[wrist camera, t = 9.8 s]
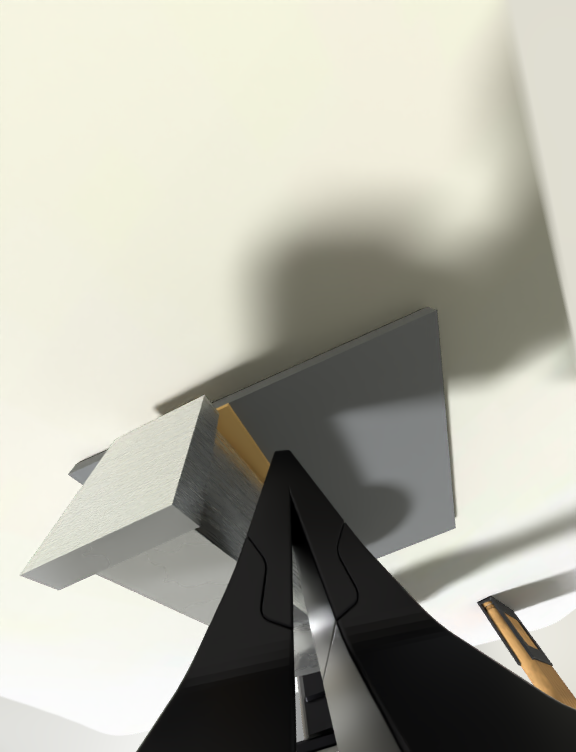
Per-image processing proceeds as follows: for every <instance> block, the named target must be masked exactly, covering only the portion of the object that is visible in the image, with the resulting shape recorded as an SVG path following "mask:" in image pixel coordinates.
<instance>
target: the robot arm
mask: <svg viewBox="0 0 576 752" xmlns="http://www.w3.org/2000/svg"><path fill="white" fill-rule="evenodd" d="M292 548H293V553H294V557H295V562H296V566H297V570H298V575H299V579H300V584H301V588H302V592H303V597H304V601H305V606H306V610H307V614H308V619H309V623H310V628H311V632H312V636H313V641H314V645H315V650H316V654H317V658H318V663H319V667H320V671H318V672H315V673H311V674H307V675H302V676H297V681H298V690H299V698H300V706H301V715H302V724H303V732H304V740H303V741H300V742H297V743H296V709H295V708H296V707H295V668H294V618H293V563H292ZM338 751H339V752H576V709H574V708H572V707H570V706H567V705H565V704H563V703H561V702H560V701H558V700H556V699H554V698H553V697H551V696H549V695H548V694H546V693H544V692H543V691H541V690H540V689H538V688H537V687H535V686H534V685H532V684H530V683H529V682H527V681H526V680H524V679H523V678H521V677H520V676H518V675H516V674H515V673H513V672H512V671H510V670H509V669H507V668H506V667H504V666H503V665H501V664H500V663H498V662H496V661H495V660H493V659H492V658H490V657H489V656H487V655H485V654H484V653H483V652H481V651H479V650H478V649H476V648H475V647H473V646H472V645H470V644H469V643H467V642H465V641H464V640H462V639H461V638H459V637H458V636H456V635H455V634H453V633H452V632H450V631H449V630H447V629H446V628H445V627H443V626H442V625H441V624H440V623H438V622H437V621H436V620H435V619H434V618H433V617H432V616H430V615H429V614H428V613H427V612H426V611H425V610H424V609H423V608H422V607H421V606H420V605H419V604H418V603H417V602H416V600H415V599H414V598H413V597H412V596H411V595H410V594H409V593H408V592H407V591H406V590H405V589H404V588H403V587H402V586H401V585H400V584H399V583H398V581H397V580H396V579H395V578H394V577H393V576H392V575H391V574H390V573H389V572H388V571H387V570H386V569H385V568H384V567H383V566H382V565H381V563H380V562H379V561H378V560H377V559H376V558H375V557H374V556H373V555H372V554H371V552H370V551H369V550H368V549H367V548H366V547H365V546H364V544H363V543H362V542H361V541H360V539H359V538H358V537H357V536H356V535H355V533H354V532H353V531H352V530H351V528H350V527H349V526H348V524H347V523H346V522H345V523H344V519H343V518H342V517H341V515H340V514H339V513H338V512H337V510H336V509H335V508H334V506H333V505H332V504H331V502H330V501H329V500H328V499H327V497H326V496H325V495H324V493H323V492H322V491H321V490H320V488H319V487H318V486H317V484H316V483H315V482H314V480H313V479H312V478H311V477H310V475H309V474H308V473H307V471H306V470H305V469H304V467H303V466H302V465H301V464H300V462H299V461H298V460H297V458H296V457H295V456H294V455H293V453H292V452H291V451H290V450H281V451H275V452H274V454H273V457H272V460H271V463H270V466H269V469H268V472H267V475H266V478H265V481H264V484H263V487H262V490H261V493H260V496H259V499H258V502H257V505H256V508H255V511H254V514H253V517H252V520H251V523H250V526H249V529H248V532H247V537H246V538H245V541H244V544H243V547H242V550H241V552H240V555H239V558H238V561H237V563H236V566H235V569H234V571H233V573H232V576H231V578H230V581H229V583H228V585H227V588H226V590H225V592H224V594H223V597H222V599H221V601H220V603H219V605H218V607H217V610H216V612H215V614H214V616H213V618H212V621H211V623H210V625H209V627H208V629H207V631H206V634H205V636H204V638H203V640H202V642H201V645H200V647H199V649H198V651H197V653H196V655H195V657H194V659H193V661H192V663H191V665H190V667H189V669H188V671H187V673H186V675H185V676H184V678H183V680H182V682H181V684H180V685H179V687H178V689H177V690H176V692H175V694H174V695H173V697H172V698H171V700H170V701H169V703H168V704H167V706H166V707H165V709H164V710H163V712H162V713H161V715H160V716H159V718H158V719H157V721H156V722H155V724H154V726H153V727H152V729H151V730H150V732H149V733H148V735H147V736H146V738H145V739H144V741H143V742H142V744H141V745H140V747H139V748H138V750H137V751H136V752H338Z"/></svg>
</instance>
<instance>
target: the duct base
mask: <svg viewBox="0 0 576 752" xmlns="http://www.w3.org/2000/svg"><path fill="white" fill-rule="evenodd" d="M212 405H213V406H214V407H215V408H216V410H217V411H218V412H219V419H218V425H217V429H218V431H219V432H220V433H221V434H222V435H223V436H224V438H225V439H226V440H227V441H228V442H229V444H230V445H231V446H232V447H233V448H234V449H235V451H236V452H237V453H238V454H239V455H240V457H241V458H242V459H243V460H244V461H245V462H246V464H247V465H248V466H249V467H250V468H251V469H252V471H253V472H254V473H255V474H256V475H257V477H258V478H259V479H260V480H261V481H262V482H263V484H264V481H265V478H266V475H267V472H268V469H269V466H270V463H271V460H272V457H273V454H274V452H275V451H281V450H290V451H291V452H292V453H293V455H294V456H295V457H296V458H297V460H298V461H299V462H300V464H301V465H302V466H303V467H304V469H305V470H306V471H307V473H308V474H309V475H310V477H311V478H312V479H313V480H314V482H315V483H316V484H317V486H318V487H319V488H320V490H321V491H322V492H323V493H324V495H325V496H326V497H327V499H328V500H329V501H330V502H331V504H332V505H333V506H334V508H335V509H336V510H337V512H338V513H339V514H340V515H341V517H342V518H343V519H344V523H345V522H346V523H347V524H348V526H349V527H350V528H351V530H352V531H353V532H354V533H355V535H356V536H357V537H358V538H359V539H360V541H361V542H362V543H363V544H364V546H365V547H366V548H367V549H368V550H369V551H370V552H371V554H372V555H373V556H374V557H375V558H376V559H377V558H380V557H382V556H385V555H387V554H390V553H393V552H395V551H398V550H400V549H403V548H405V547H408V546H411V545H413V544H416V543H418V542H421V541H423V540H426V539H429V538H431V537H434V536H436V535H439V534H442V533H444V532H447V531H449V530H452V529H454V528H456V527H455V515H454V504H453V492H452V480H451V468H450V456H449V445H448V433H447V421H446V409H445V397H444V386H443V374H442V362H441V350H440V338H439V327H438V315H437V310H435V309H432V308H429V307H426V308H423V309H421V310H419V311H417V312H415V313H412V314H410V315H408V316H406V317H403V318H401V319H399V320H397V321H394V322H392V323H390V324H388V325H385V326H383V327H381V328H379V329H377V330H374V331H372V332H370V333H368V334H365V335H363V336H361V337H359V338H356V339H354V340H352V341H350V342H347V343H345V344H343V345H341V346H339V347H336V348H334V349H332V350H330V351H327V352H325V353H323V354H321V355H318V356H316V357H314V358H312V359H310V360H307V361H305V362H303V363H301V364H298V365H296V366H294V367H292V368H289V369H287V370H285V371H283V372H280V373H278V374H276V375H274V376H272V377H269V378H267V379H265V380H263V381H260V382H258V383H256V384H254V385H251V386H249V387H247V388H245V389H242V390H240V391H238V392H236V393H234V394H231V395H229V396H227V397H225V398H222V399H220V400H218V401H216V402H213V403H212ZM106 452H107V450H106V451H104V452H102V453H100V454H97V455H95V456H93V457H91V458H88V459H86V460H84V461H82V462H79V463H77V464H76V465H75V466H74V468H73V469H72V470H71V471H70V473H69V474H68V475H69V476H71V477H72V478H74V479H75V480H77V481H78V482H79V483H81V484H82V485H83V484H84V483H85V481H86V480H87V479H88V477H89V476H90V474H91V473H92V472H93V470H94V469H95V467H96V466H97V464H98V463H99V462H100V460H101V459H102V457H103V456H104V454H105V453H106Z"/></svg>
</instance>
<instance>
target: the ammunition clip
mask: <svg viewBox="0 0 576 752" xmlns="http://www.w3.org/2000/svg"><path fill="white" fill-rule="evenodd" d="M477 603H478V605H479V606H480V608H481V609H482V611H483V612H484V614H485V615H486V617H487V618H488V620H489V621H490V623H491V624H492V626H493V628H494V629H495V631H496V632H497V634H498V635H499V637H500V638H501V640H502V641H503V643H504V644H505V646H506V647H507V649H508V650H509V652H510V653H511V655H512V656H513V658H514V659H515V661H516V662H517V664H518V665H520V666H521V667H522V668H523V670H524V671H525V673H526V674H527V675H528V677H529V679H530V680H531V682H532V683H533V685H534V686H535V687H537V688H538V689H540V690H541V691H543V692H544V693H546V694H548V695H549V696H551V697H553V698H554V699H556V700H558V701H560V702H561V703H563V704H565V705H567V706H570V707H572V708H574V709H576V698H575V697H574V696H573V694H572V693H571V692H570V690H569V689H568V687H567V686H566V685H565V683H564V682H563V681H562V679H561V678H560V677H559V675H558V674H557V672H556V671H555V670H554V668H553V667H552V666H553V665H552V663H551V662H550V660H549V659H548V658H547V656H546V655H545V654H544V652H543V651H542V650H541V648H540V647H539V645H538V644H537V643H536V641H535V640H534V639H533V637H532V636H531V635H530V633H529V632H528V630H527V629H526V628H525V626H524V625H523V624H522V622H521V621H520V620H519V618H518V617H517V615H516V614H515V613H514V611H513V610H511V609H510V608H508V607H507V606H505V605H504V604H502V603H501V602H499V601H498V600H496V599H495V598H493V597H492V596H490V597H488V598H486V599H483V600H481V601H479V602H477Z"/></svg>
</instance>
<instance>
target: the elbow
mask: <svg viewBox="0 0 576 752" xmlns="http://www.w3.org/2000/svg"><path fill="white" fill-rule="evenodd" d="M218 419H219V412H218V411H217V410H216V408H215V407H214V406H213V405H212V403H211V402H210V401H209V400H208V398H207V397H206V396H205V395H203V396H201V397H199V398H197V399H195V400H193V401H191V402H189V403H187V404H185V405H183V406H181V407H179V408H177V409H175V410H173V411H171V412H169V413H167V414H165V415H163V416H161V417H159V418H157V419H155V420H153V421H151V422H149V423H147V424H145V425H143V426H141V427H139V428H137V429H135V430H133V431H131V432H129V433H127V434H125V435H123V436H121V437H119V438H117V439H115V440H114V442H113V443H112V444H111V446H110V447H109V449H108V450H107V452H106V453H105V454H104V456H103V457H102V459H101V460H100V462H99V463H98V464H97V466H96V467H95V469H94V470H93V472H92V473H91V474H90V476H89V477H88V479H87V480H86V481H85V483H84V484H83V486H82V487H81V489H80V490H79V491H78V493H77V494H76V496H75V497H74V499H73V500H72V501H71V503H70V504H69V506H68V507H67V509H66V510H65V511H64V513H63V514H62V516H61V517H60V519H59V520H58V521H57V523H56V524H55V526H54V527H53V529H52V530H51V531H50V533H49V534H48V536H47V537H46V539H45V540H44V541H43V543H42V544H41V546H40V547H39V548H38V550H37V551H36V553H35V554H34V556H33V557H32V558H31V560H30V561H29V563H28V564H27V566H26V567H25V568H24V570H23V571H22V573H21V574H20V576H23V577H25V578H28V579H31V580H33V581H36V582H38V583H41V584H44V585H46V586H49V587H52V588H54V589H57V590H61V589H63V588H65V587H67V586H70V585H72V584H74V583H76V582H78V581H81V580H83V579H85V578H87V577H90V576H92V575H94V574H97V575H99V576H101V577H103V578H105V579H108V580H110V581H112V582H114V583H116V584H119V585H121V586H123V587H125V588H127V589H129V590H132V591H134V592H136V593H138V594H140V595H143V596H145V597H147V598H149V599H151V600H154V601H156V602H158V603H160V604H162V605H164V606H167V607H169V608H171V609H173V610H175V611H178V612H180V613H182V614H184V615H186V616H189V617H191V618H193V619H195V620H197V621H199V622H202V623H204V624H206V625H208V626H209V625H210V623H211V621H212V618H213V616H214V614H215V612H216V610H217V607H218V605H219V603H220V601H221V599H222V597H223V594H224V592H225V590H226V588H227V585H228V583H229V581H230V578H231V576H232V573H233V571H234V569H235V566H236V563H237V561H238V558H239V555H240V552H241V550H242V547H243V544H244V541H245V538H246V537H247V532H248V529H249V526H250V523H251V520H252V517H253V514H254V511H255V508H256V505H257V502H258V499H259V496H260V493H261V490H262V487H263V482H262V481H261V480H260V479H259V478H258V477H257V475H256V474H255V473H254V472H253V471H252V469H251V468H250V467H249V466H248V465H247V464H246V462H245V461H244V460H243V459H242V458H241V457H240V455H239V454H238V453H237V452H236V451H235V449H234V448H233V447H232V446H231V445H230V444H229V442H228V441H227V440H226V439H225V438H224V436H223V435H222V434H221V433H220V432H219V431H218V429H217V425H218ZM292 563H293V618H294V668H295V677H297V676H302V675H307V674H311V673H315V672H318V671H320V667H319V663H318V658H317V654H316V650H315V645H314V641H313V636H312V632H311V628H310V623H309V619H308V614H307V610H306V606H305V601H304V597H303V592H302V588H301V584H300V579H299V575H298V570H297V566H296V562H295V557H294V553H293V548H292Z"/></svg>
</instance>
